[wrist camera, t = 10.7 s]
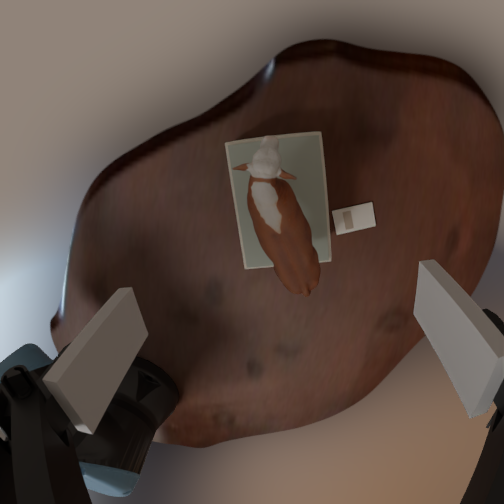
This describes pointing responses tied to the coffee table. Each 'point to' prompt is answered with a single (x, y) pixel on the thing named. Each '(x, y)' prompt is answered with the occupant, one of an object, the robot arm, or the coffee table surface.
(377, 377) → the coffee table surface
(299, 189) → the plinth
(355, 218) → the page
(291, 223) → the bull figurine
